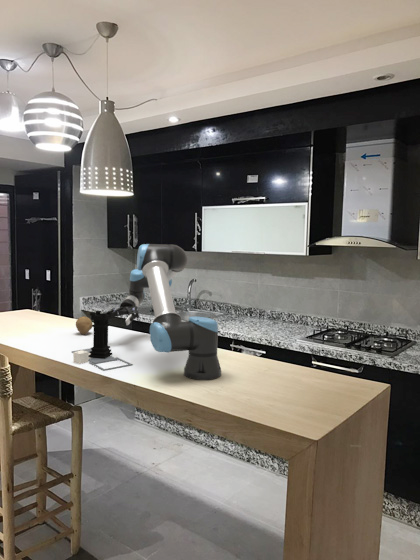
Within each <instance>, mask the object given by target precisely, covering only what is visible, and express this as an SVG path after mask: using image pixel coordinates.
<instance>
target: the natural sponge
mask: <svg viewBox="0 0 420 560" xmlns="http://www.w3.org/2000/svg"><path fill="white" fill-rule="evenodd" d="M92 321H93V320H91V318H89V317H87V316H85V315H84V316H79V318H78V319H76V322H75V326H76V329H77V331H78V333H80V334H81V335H86V334H87V333H89V331H91V330H92V329H93V327H92V325H94V323H93V322H92Z"/></svg>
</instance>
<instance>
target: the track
mask: <svg viewBox="0 0 420 560" xmlns="http://www.w3.org/2000/svg"><path fill="white" fill-rule="evenodd" d="M91 348H92V347H90V348H84V349H78V350H71V353H72V354H73V352H76V351H81V350H83V351H87V352H88V355H90V354H91V353H90V351H92V350H91ZM114 361H119V360H118V359H117V358H116V357H114V356H112V355H110V356H109V357H107V358H94V357H88V363H89V362H93V363H94V364H96V365H98V364H103V363H109V362H114Z"/></svg>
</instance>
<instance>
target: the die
mask: <svg viewBox="0 0 420 560" xmlns="http://www.w3.org/2000/svg"><path fill="white" fill-rule="evenodd" d="M80 350H81V351H77V350H75V351H76V352H73V353H72V354H73V357H72V359H73V363H76V364H78V363H79V365H81V363H82V364H85V363H89V361H88V352H87V351H83V349H80Z"/></svg>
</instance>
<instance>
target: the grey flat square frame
mask: <svg viewBox="0 0 420 560" xmlns="http://www.w3.org/2000/svg"><path fill="white" fill-rule="evenodd" d="M115 358H117V359H118V360H117V361H120V362H123V363H125V364H123V365H120V366H119V365H118V366H113V367H108V368H103V367H102V366H99V365H98V364H94V363H93V362H89V361H88V364H90V365H92V366H93V365H94V367H95V366H96V367H95V368H97V367H98V368H97V369H99V370H102V371H103V372H105V371H110V370H115V369H120V368H125V367H129V366H133V365H134V364H133V363H132V362H128V361H126V360H124V359H121V358H120V357H115Z"/></svg>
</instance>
